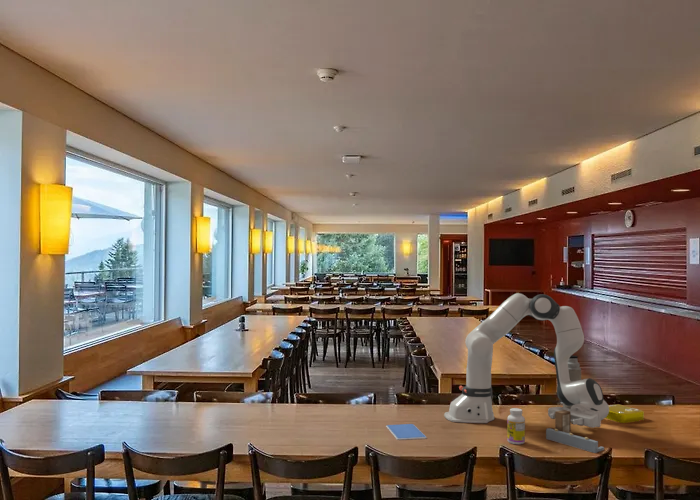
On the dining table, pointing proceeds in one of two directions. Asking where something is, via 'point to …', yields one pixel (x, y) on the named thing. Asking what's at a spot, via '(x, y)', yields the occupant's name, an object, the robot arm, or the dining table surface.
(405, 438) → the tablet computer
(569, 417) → the brown rectangular box
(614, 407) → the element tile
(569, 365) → the thermos bottle
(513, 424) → the supplement bottle
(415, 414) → the dining table surface
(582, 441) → the rail
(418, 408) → the dining table surface
